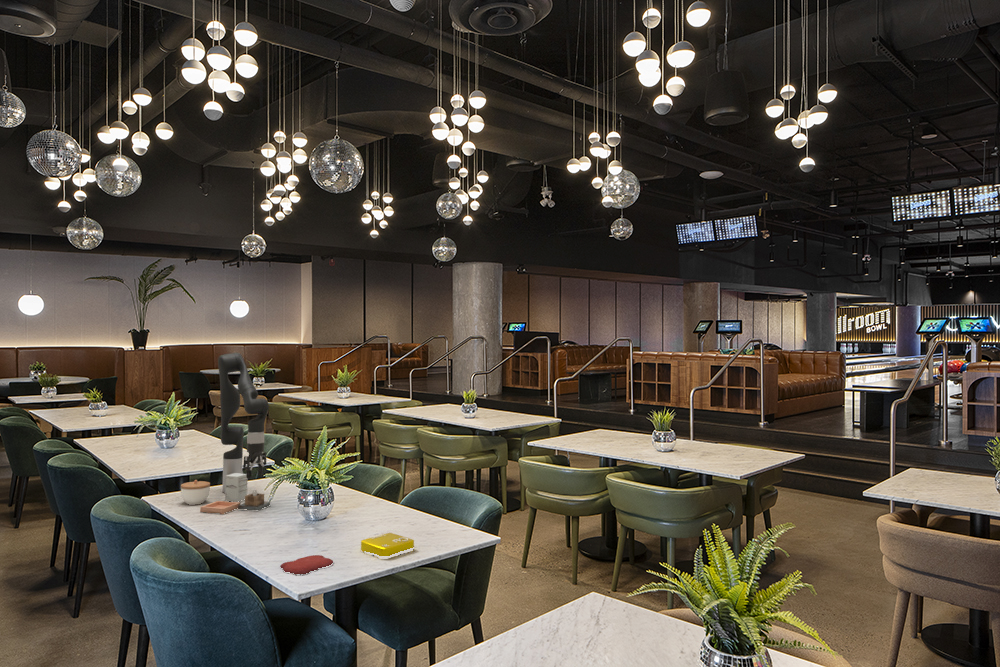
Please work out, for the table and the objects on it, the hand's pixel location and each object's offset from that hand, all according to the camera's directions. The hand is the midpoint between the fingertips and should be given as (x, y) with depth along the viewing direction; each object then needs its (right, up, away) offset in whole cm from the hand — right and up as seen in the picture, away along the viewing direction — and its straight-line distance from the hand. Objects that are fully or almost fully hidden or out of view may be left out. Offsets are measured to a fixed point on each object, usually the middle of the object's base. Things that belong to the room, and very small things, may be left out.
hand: (254, 476), depth 293 cm
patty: (+48, -14, -77) cm, 91 cm away
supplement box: (-14, -15, +13) cm, 25 cm away
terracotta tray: (-14, -14, -5) cm, 20 cm away
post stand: (0, -15, 0) cm, 15 cm away
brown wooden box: (0, -13, 0) cm, 13 cm away
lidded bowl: (-31, -14, +7) cm, 35 cm away
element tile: (+72, -15, -59) cm, 95 cm away
